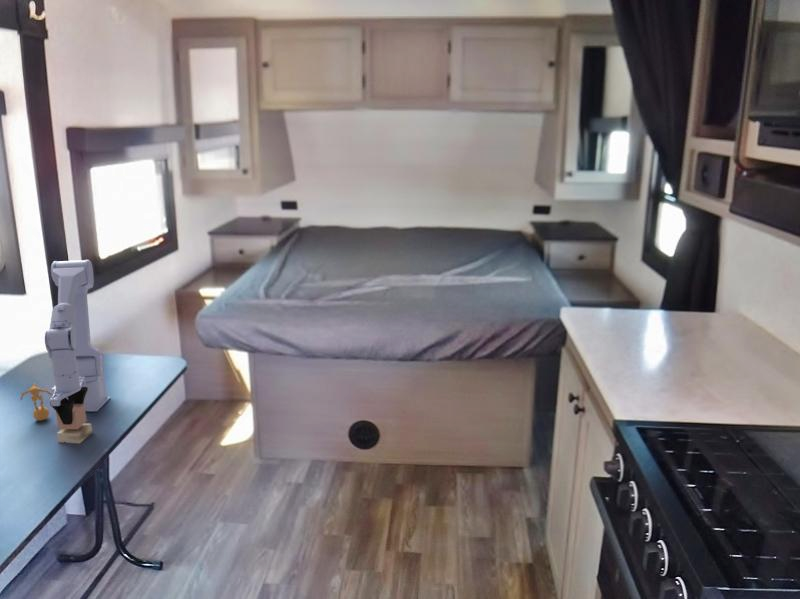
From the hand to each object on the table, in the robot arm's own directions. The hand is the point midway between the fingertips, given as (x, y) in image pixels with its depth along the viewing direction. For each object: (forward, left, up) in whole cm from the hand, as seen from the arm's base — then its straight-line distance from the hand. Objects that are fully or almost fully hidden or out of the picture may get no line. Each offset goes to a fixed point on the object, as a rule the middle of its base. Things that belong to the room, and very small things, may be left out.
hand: (72, 419), depth 169 cm
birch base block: (0, 0, -6) cm, 6 cm away
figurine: (-9, -14, -6) cm, 18 cm away
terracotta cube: (0, 0, -2) cm, 2 cm away
